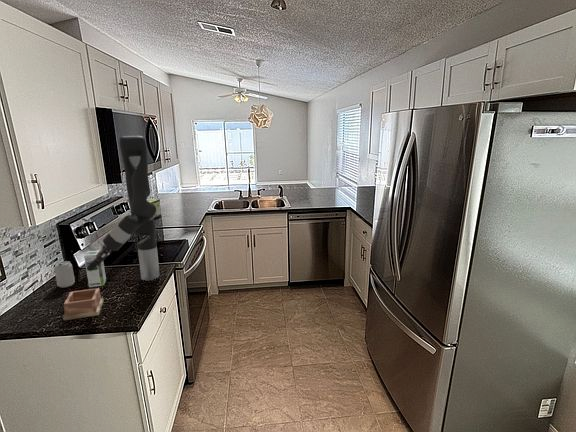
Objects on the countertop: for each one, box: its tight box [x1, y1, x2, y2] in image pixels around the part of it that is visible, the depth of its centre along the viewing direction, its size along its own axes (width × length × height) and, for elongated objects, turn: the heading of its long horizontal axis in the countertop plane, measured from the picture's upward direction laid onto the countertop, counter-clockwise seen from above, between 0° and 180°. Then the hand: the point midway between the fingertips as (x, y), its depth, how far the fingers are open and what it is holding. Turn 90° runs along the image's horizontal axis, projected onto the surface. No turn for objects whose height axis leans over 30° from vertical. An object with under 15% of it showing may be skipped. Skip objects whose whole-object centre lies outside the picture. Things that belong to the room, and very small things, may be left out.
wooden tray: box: [62, 287, 104, 321], centre depth 146 cm, size 13×13×7 cm
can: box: [53, 260, 76, 288], centre depth 169 cm, size 8×8×12 cm
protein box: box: [146, 198, 162, 220], centre depth 293 cm, size 10×16×16 cm
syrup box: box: [83, 249, 107, 288], centre depth 143 cm, size 6×6×14 cm
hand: (90, 266), depth 142 cm, fingers closed on syrup box, 6 cm apart
